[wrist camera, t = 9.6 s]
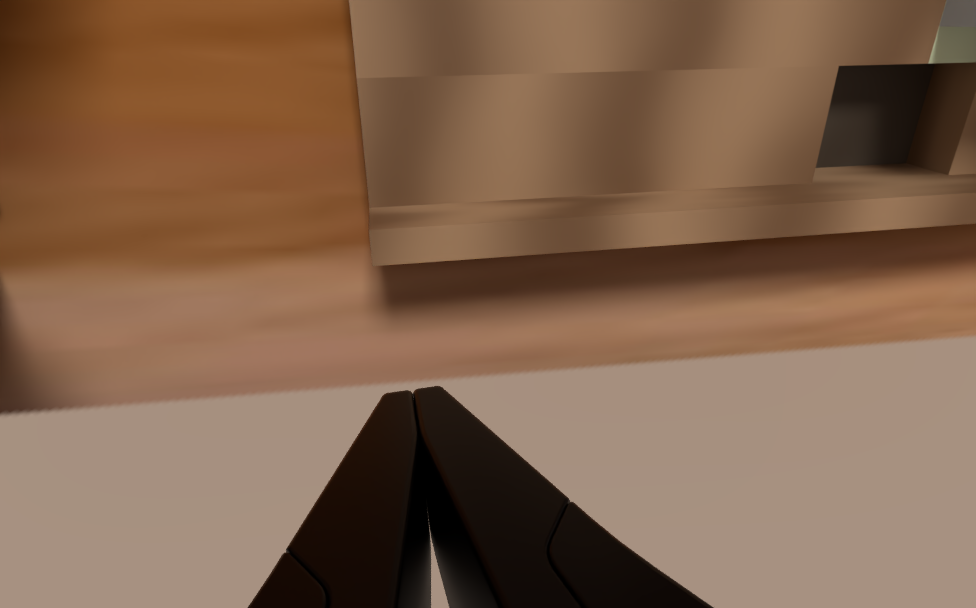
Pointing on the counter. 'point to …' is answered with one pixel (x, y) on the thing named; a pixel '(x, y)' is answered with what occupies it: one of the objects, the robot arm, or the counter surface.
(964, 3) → the block
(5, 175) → the counter surface
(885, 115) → the wooden tray
